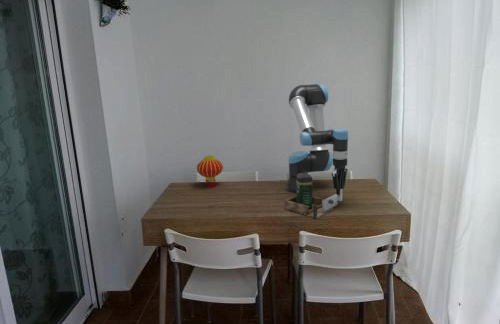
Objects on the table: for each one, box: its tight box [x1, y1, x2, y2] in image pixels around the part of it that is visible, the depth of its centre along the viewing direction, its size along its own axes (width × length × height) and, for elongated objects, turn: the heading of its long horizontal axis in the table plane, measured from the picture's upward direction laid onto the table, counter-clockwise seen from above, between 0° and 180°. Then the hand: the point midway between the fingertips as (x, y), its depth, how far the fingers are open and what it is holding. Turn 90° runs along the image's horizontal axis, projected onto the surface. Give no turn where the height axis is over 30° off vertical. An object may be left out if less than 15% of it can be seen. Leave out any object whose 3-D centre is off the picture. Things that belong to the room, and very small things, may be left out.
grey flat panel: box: [322, 193, 338, 212], centre depth 190 cm, size 2×13×6 cm, turn 136°
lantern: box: [196, 146, 224, 187], centre depth 239 cm, size 17×17×30 cm
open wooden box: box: [284, 194, 334, 220], centre depth 193 cm, size 20×15×6 cm
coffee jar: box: [296, 173, 313, 209], centre depth 193 cm, size 10×8×19 cm
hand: (339, 200), depth 197 cm, fingers closed
